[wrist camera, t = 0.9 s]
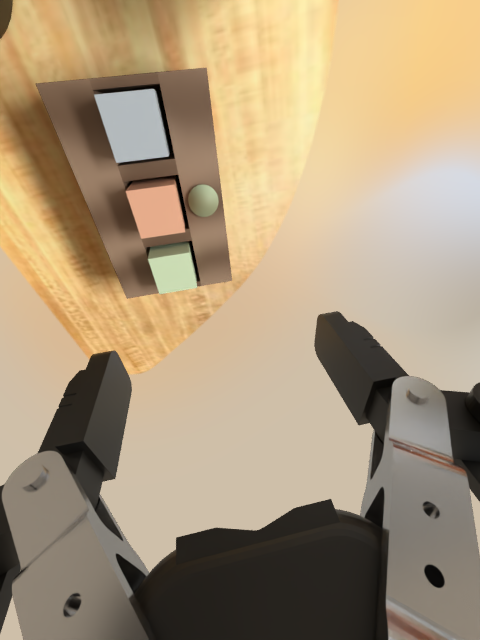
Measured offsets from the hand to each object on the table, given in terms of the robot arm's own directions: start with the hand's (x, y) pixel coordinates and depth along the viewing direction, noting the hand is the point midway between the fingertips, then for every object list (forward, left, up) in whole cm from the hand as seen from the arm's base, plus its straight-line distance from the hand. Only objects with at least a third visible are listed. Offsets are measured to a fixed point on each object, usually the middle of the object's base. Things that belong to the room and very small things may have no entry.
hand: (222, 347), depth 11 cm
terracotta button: (-1, -3, -22) cm, 22 cm away
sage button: (+5, -3, -22) cm, 22 cm away
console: (-1, -3, -24) cm, 24 cm away
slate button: (-7, -3, -22) cm, 23 cm away
